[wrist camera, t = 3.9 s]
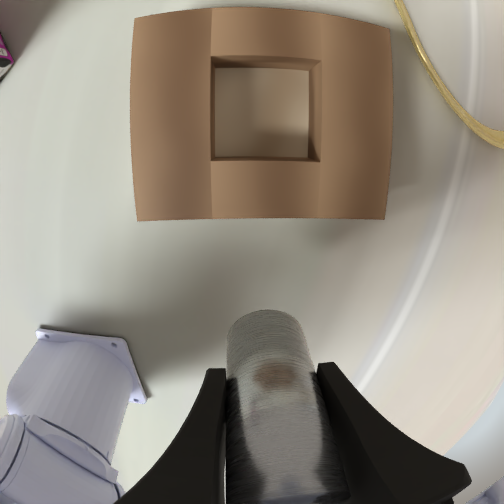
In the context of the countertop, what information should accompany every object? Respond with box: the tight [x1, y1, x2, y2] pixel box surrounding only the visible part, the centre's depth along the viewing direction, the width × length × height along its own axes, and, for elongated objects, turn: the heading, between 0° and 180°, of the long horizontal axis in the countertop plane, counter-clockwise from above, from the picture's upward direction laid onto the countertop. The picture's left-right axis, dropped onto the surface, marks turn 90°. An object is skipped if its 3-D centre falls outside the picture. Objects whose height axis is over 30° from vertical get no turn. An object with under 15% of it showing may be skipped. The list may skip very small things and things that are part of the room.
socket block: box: [130, 7, 393, 221], centre depth 13 cm, size 12×10×4 cm
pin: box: [226, 310, 351, 504], centre depth 9 cm, size 4×4×8 cm
